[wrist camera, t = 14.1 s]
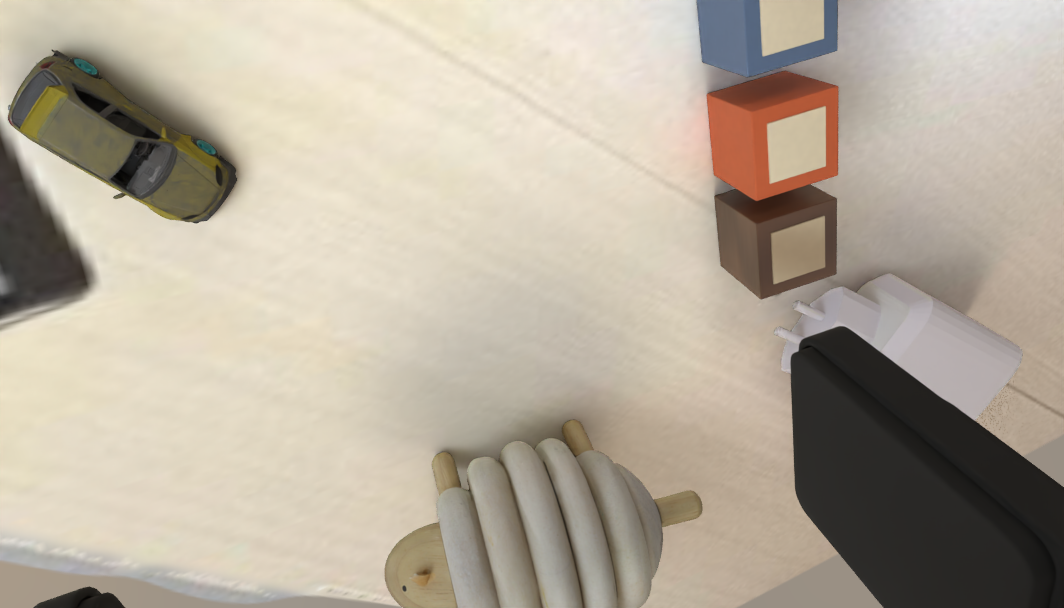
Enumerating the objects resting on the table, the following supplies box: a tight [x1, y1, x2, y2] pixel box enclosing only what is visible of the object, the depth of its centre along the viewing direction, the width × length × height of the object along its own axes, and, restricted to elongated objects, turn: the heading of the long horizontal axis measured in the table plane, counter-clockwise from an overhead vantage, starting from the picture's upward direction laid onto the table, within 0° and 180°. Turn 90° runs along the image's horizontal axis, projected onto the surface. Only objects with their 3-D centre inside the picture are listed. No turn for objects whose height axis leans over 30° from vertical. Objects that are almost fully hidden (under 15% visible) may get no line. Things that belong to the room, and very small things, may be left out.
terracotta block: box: [707, 71, 838, 201], centre depth 33 cm, size 4×4×4 cm
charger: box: [774, 273, 1023, 421], centre depth 41 cm, size 5×9×15 cm
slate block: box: [697, 0, 838, 77], centre depth 30 cm, size 4×4×4 cm
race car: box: [8, 50, 237, 223], centre depth 27 cm, size 4×8×2 cm, turn 48°
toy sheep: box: [385, 420, 702, 608], centre depth 36 cm, size 11×17×11 cm, turn 101°
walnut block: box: [715, 184, 837, 299], centre depth 36 cm, size 4×4×4 cm
